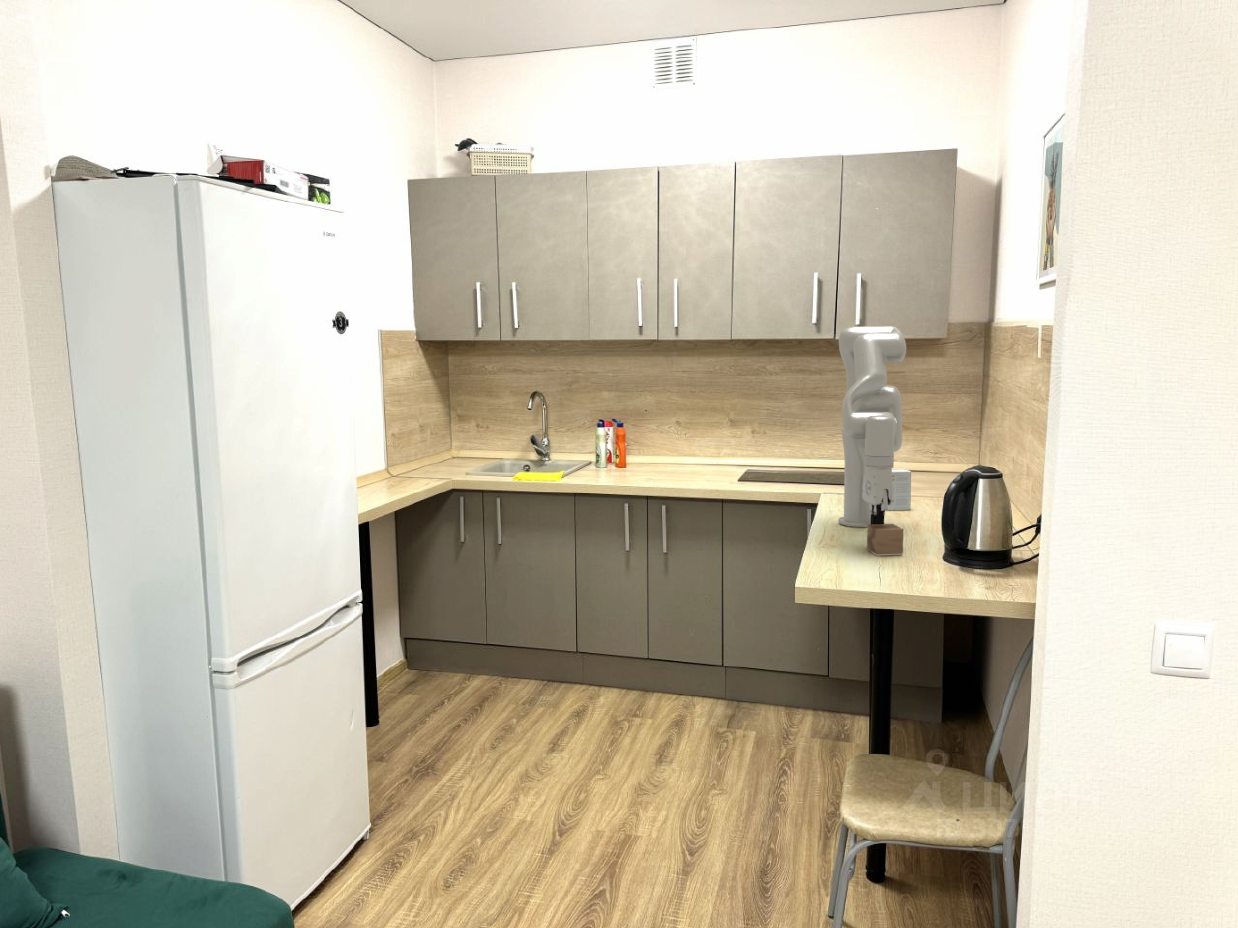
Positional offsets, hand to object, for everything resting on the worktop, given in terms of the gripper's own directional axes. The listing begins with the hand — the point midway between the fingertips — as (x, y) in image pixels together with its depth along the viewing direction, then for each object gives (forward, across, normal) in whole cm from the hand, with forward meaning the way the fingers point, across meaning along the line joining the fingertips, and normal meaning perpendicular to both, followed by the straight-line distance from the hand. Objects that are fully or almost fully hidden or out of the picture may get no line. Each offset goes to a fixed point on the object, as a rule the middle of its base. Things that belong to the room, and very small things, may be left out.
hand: (877, 528), depth 238 cm
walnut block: (+5, +5, 0) cm, 7 cm away
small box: (+7, -53, +29) cm, 61 cm away
